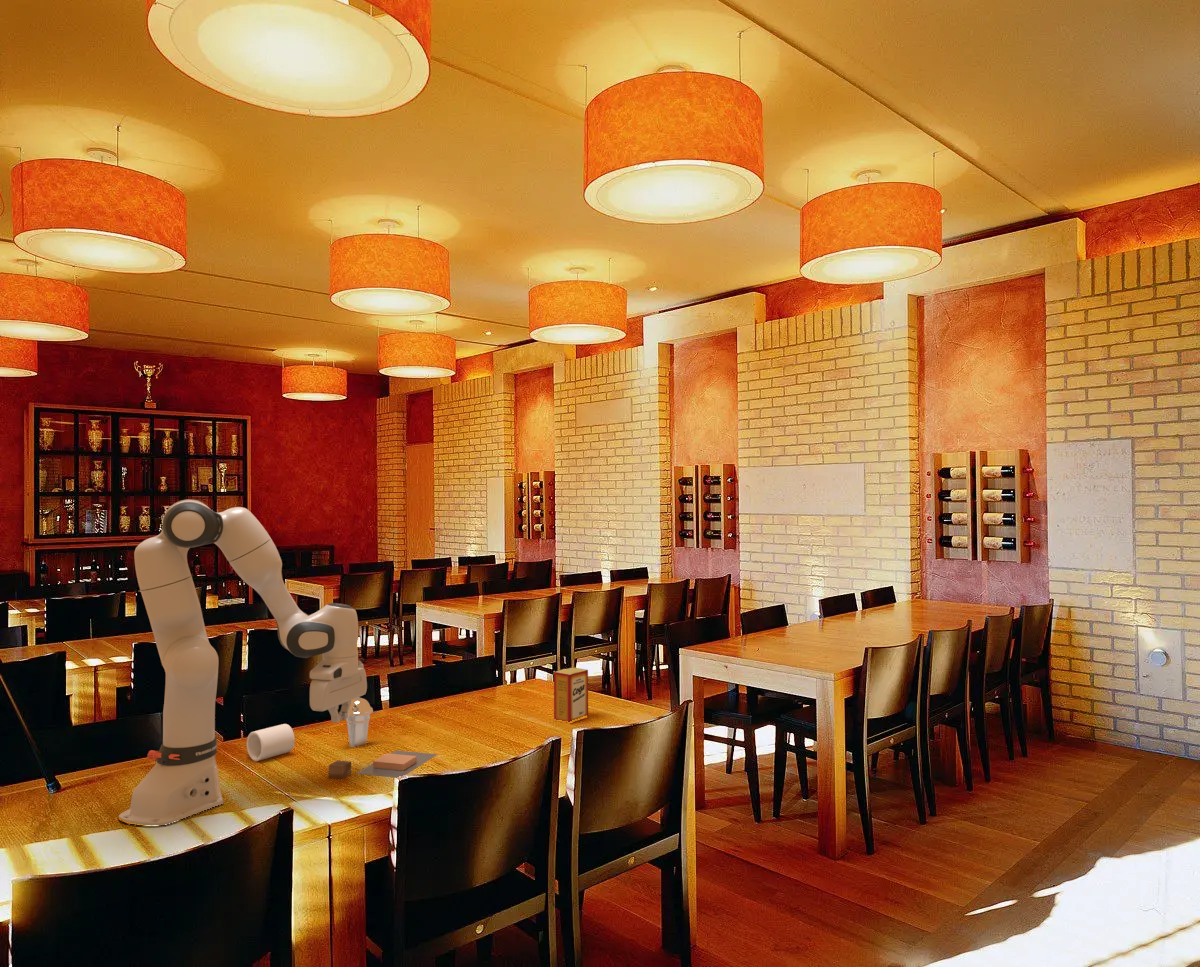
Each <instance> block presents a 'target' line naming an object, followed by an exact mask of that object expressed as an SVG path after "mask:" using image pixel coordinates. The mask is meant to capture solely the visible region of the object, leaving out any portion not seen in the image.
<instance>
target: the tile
mask: <svg viewBox="0 0 1200 967" xmlns="http://www.w3.org/2000/svg"><path fill="white" fill-rule="evenodd" d="M416 762H417V756H411V755H400V754H391V753H388V752H386V753H385V754H383V755H382V756H380V757H378V758H376V759H374V760H373V761H372V764H373V767H374V768H382V769H392V770H402V771H403V770H405V769H407V768H408V767H410V766H411V765H413V764H415V763H416Z"/></svg>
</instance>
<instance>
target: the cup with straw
mask: <svg viewBox="0 0 1200 967" xmlns="http://www.w3.org/2000/svg"><path fill="white" fill-rule="evenodd" d="M372 713H374V709H373V707H372V706H371V705H370V703H369V701H368V700H367V699H366V698H362V697H361V696H360V697H357V698H355V699H352V700H351V705H350V708H349V711H348V718H346V719H345V721H346V722H345V723H346V724H347V733H348V743H349V748H350V747H353V748H355V747H356V746H357V747H358V746H363V745H365V744H367V742H368V730H369V724H370V718H371V714H372Z"/></svg>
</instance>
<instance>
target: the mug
mask: <svg viewBox="0 0 1200 967" xmlns="http://www.w3.org/2000/svg"><path fill="white" fill-rule="evenodd" d="M295 740H296V738H295V733H294V731H293V728H292V726H290V725H289V724H287V723H283V724H282V723H281V724H278V725H274V726H269V727H266V728H262V729H258V730H255V731H251V732H250V733H249V734H248V736H247V739H246V749H247V750H246V751H247V753H248V756H249V757H250V759H251V760H253V761H254V762H259V761H263V760H266V759H269V758H270V759H271V758H273V757H277V756H280V755H284V754H287V753H291V751H293V749H294V747H295V742H296V741H295Z"/></svg>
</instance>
